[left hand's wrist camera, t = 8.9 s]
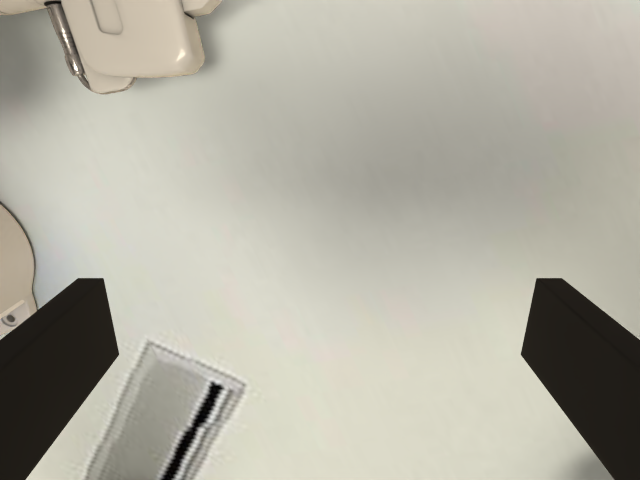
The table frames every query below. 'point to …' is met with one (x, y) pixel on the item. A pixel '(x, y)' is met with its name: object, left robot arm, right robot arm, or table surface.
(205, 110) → the table surface
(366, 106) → the table surface
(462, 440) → the table surface
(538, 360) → the left robot arm
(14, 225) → the right robot arm
